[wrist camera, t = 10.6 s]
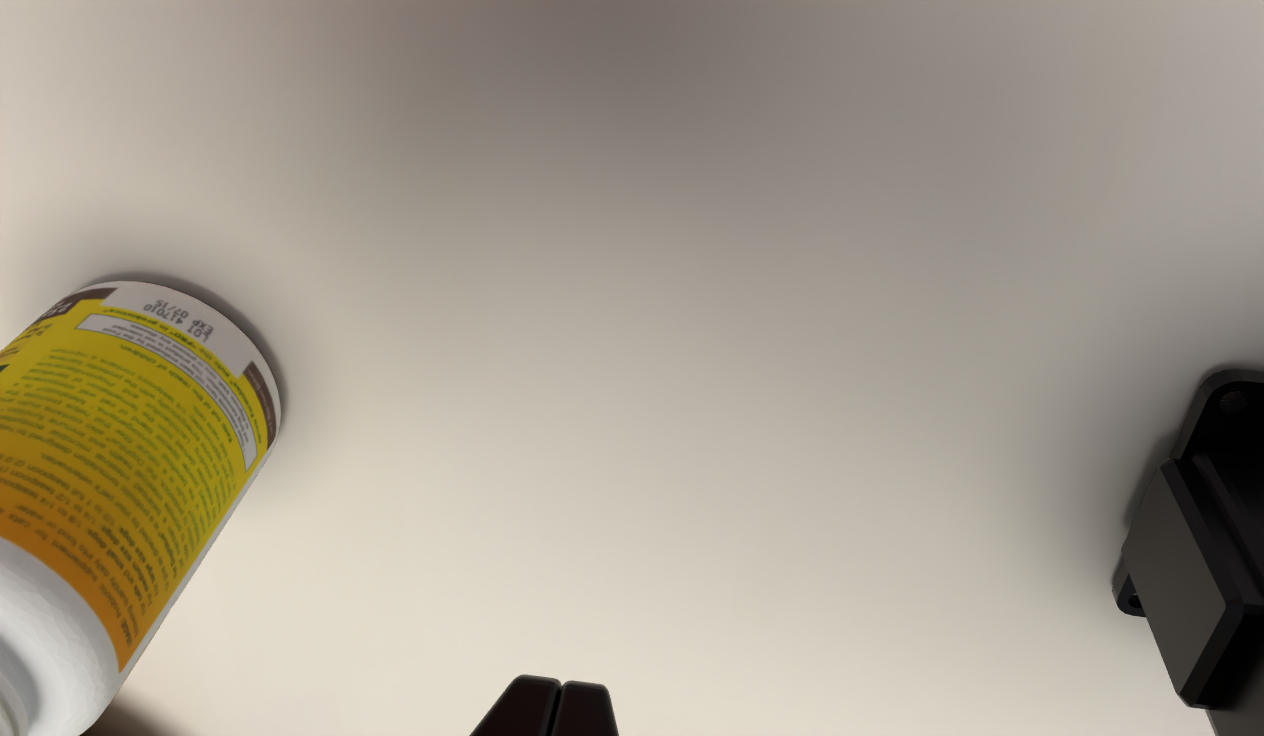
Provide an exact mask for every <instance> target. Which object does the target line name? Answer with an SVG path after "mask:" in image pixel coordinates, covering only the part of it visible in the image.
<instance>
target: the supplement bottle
mask: <svg viewBox="0 0 1264 736" xmlns="http://www.w3.org/2000/svg"><path fill="white" fill-rule="evenodd" d="M280 419H281V408H280V400H279V395H278V390H277V387H276V384H275V380H274V378H273V375H272V373H271V371H270V369H269V367H268V365H267V363H266V361H265V360H264V358H263V357H262V355H261V353H260V352H259V351H258V349H257V348H256V347H255V345H254V344H253V343H252V341H251V340H250V339H249V338H248V337H247V336H246V335H245V334H244V333H243V332H242V331H241V330H240V329H239V328H238V327H237V326H235V325H234V324H233V323H232V322H231V321H230V320H228V319H227V318H226V317H225V316H223V315H222V314H221V313H219V312H218V311H216V310H215V309H213V308H211V307H210V306H208V305H206V304H205V303H203V302H201V301H199V300H197V299H195V298H193V297H191V296H189V295H187V294H184V293H182V292H179V291H176V290H173V289H170V288H167V287H164V286H160V285H155V284H150V283H144V282H136V281H114V282H105V283H100V284H95V285H91V286H88V287H85V288H83V289H80V290H78V291H76V292H74V293H72V294H70V295H68V296H67V297H65V298H63V299H62V300H60V301H59V302H58V303H57V304H55V305H54V306H53V307H52V308H51V309H50V310H48V311H47V312H46V313H44V314H43V315H42V316H41V317H40V318H39V319H37V320H36V321H35V322H34V323H33V324H32V325H30V326H29V327H28V328H27V329H26V330H25V331H24V332H23V333H21V334H20V335H19V336H18V337H17V338H16V339H15V340H13V341H12V342H11V343H10V344H9V345H8V346H6V347H5V348H4V349H3V350H2V351H1V352H0V736H79V735H80V734H82V733H83V732H85V731H86V730H87V729H88V728H89V727H90V726H92V725H93V724H94V723H95V721H96V720H97V719H98V718H99V717H100V715H101V714H102V713H103V712H104V710H105V709H106V707H107V706H108V705H109V704H110V703H111V701H112V700H113V698H114V697H115V695H116V694H117V692H118V691H119V689H120V687H121V686H122V684H123V683H124V681H125V680H126V678H127V677H128V675H129V674H130V672H131V671H132V669H133V667H134V666H135V664H136V663H137V661H138V660H139V658H140V657H141V655H142V654H143V652H144V650H145V649H146V647H147V646H148V644H149V643H150V641H151V640H152V638H153V636H154V635H155V633H156V632H157V630H158V628H159V627H160V625H161V624H162V622H163V621H164V619H165V617H166V616H167V614H168V613H169V611H170V609H171V608H172V606H173V605H174V603H175V602H176V600H177V599H178V597H179V596H180V594H181V593H182V591H183V590H184V588H185V587H186V585H187V584H188V582H189V581H190V579H191V577H192V576H193V574H194V573H195V571H196V570H197V568H198V567H199V565H200V564H201V562H202V560H203V559H204V557H205V556H206V554H207V553H208V551H209V549H210V548H211V546H212V545H213V543H214V542H215V540H216V539H217V537H218V535H219V534H220V532H221V531H222V529H223V528H224V526H225V524H226V523H227V521H228V520H229V518H230V517H231V515H232V514H233V512H234V510H235V509H236V507H237V506H238V504H239V503H240V501H241V500H242V498H243V496H244V495H245V493H246V492H247V490H248V489H249V487H250V485H251V484H252V482H253V481H254V479H255V478H256V476H257V474H258V473H259V471H260V469H261V468H262V466H263V465H264V463H265V462H266V460H267V458H268V457H269V455H270V453H271V451H272V449H273V447H274V445H275V443H276V440H277V436H278V433H279V428H280Z"/></svg>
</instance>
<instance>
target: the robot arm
mask: <svg viewBox="0 0 1264 736" xmlns="http://www.w3.org/2000/svg"><path fill="white" fill-rule="evenodd" d="M1235 391H1240V392H1239V394H1238V395H1237V396H1236V397H1234V398H1232V399H1230V400H1225V401H1221V399H1222V398H1223V397H1224V395H1226V394H1228V393H1230V392H1235ZM1121 553H1122V556H1123V559H1124V560H1123V563H1122V565H1121V567H1120V569H1119V572H1118V574H1117V576H1116V578H1115V581H1114V583H1113V586H1112V593H1113V595H1114V598H1115V601H1116V603H1117V606H1118V608H1119V609H1120V610H1121V611H1122V612H1124V613H1125V614H1129V615H1132V616H1140V617H1147V620H1148V623H1149V625H1150V628H1151V630H1152V633H1153V635H1154V638H1155V640H1156V643H1157V646H1158V648H1159V651H1160V653H1161V656H1162V658H1163V661H1164V663H1165V666H1166V668H1167V671H1168V674H1169V676H1170V679H1171V681H1172V684H1173V686H1174V689H1175V691H1176V693H1177V695H1178V696H1179V697H1180V699H1181V700H1182V701H1183V702H1184V703H1185V705H1186V706H1188V707H1192V708H1200V709H1205V711H1206V713H1207V716H1208V718H1209V721H1210V723H1211V725H1212V728H1213V730H1214V733H1215V735H1216V736H1264V372H1259V371H1249V370H1239V369H1230V370H1223V371H1220V372H1217V373H1215V374H1213V375H1212V376H1210V377H1209V378H1208V379H1206V380H1205V382H1204V383H1203V384H1202V386H1201V387H1200V389H1199V392H1198V394H1197V396H1196V398H1195V401H1194V403H1193V405H1192V407H1191V410H1190V412H1189V414H1188V416H1187V419H1186V421H1185V423H1184V425H1183V428H1182V430H1181V432H1180V434H1179V437H1178V439H1177V441H1176V443H1175V446H1174V448H1173V450H1172V452H1171V455H1170V457H1169V459H1166V460H1165V461H1164V462H1163V463H1162V464H1161V465H1160V466H1158V468H1157V469H1156V471H1155V474H1154V476H1153V478H1152V481H1151V483H1150V485H1149V487H1148V490H1147V492H1146V494H1145V497H1144V499H1143V501H1142V503H1141V506H1140V508H1139V510H1138V512H1137V515H1136V517H1135V519H1134V522H1133V524H1132V526H1131V528H1130V531H1129V533H1128V535H1127V538H1126V540H1125V542H1124V544H1123V547H1122V550H1121ZM1136 593H1137V595H1133V594H1136ZM470 736H619V734H618V729H617V725H616V721H615V716H614V712H613V707H612V703H611V699H610V695H609V691H608V689H607V688H606V687H605V686H604V685H602V684H595V683H587V682H580V681H572V680H571V681H567V682H565V683H564V684H563V686H562V685H561V682H560V681H559V680H558V679H555V678H549V677H541V676H533V675H520V676H518V677H516V678H515V679H514V680H513V681H512V682H511V683H510V685H509V686H508V687H507V688H506V690H505V691H504V692H503V693H502V695H501V696H500V697H499V699H498V700H497V701H496V702H495V704H494V705H493V706H492V708H491V709H490V710H489V711H488V713H487V714H486V715H485V716H484V718H483V719H482V720H481V722H480V723H479V724H478V725H477V727H476V728H475V729H474V731H473V732H472V733H471V734H470Z"/></svg>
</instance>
